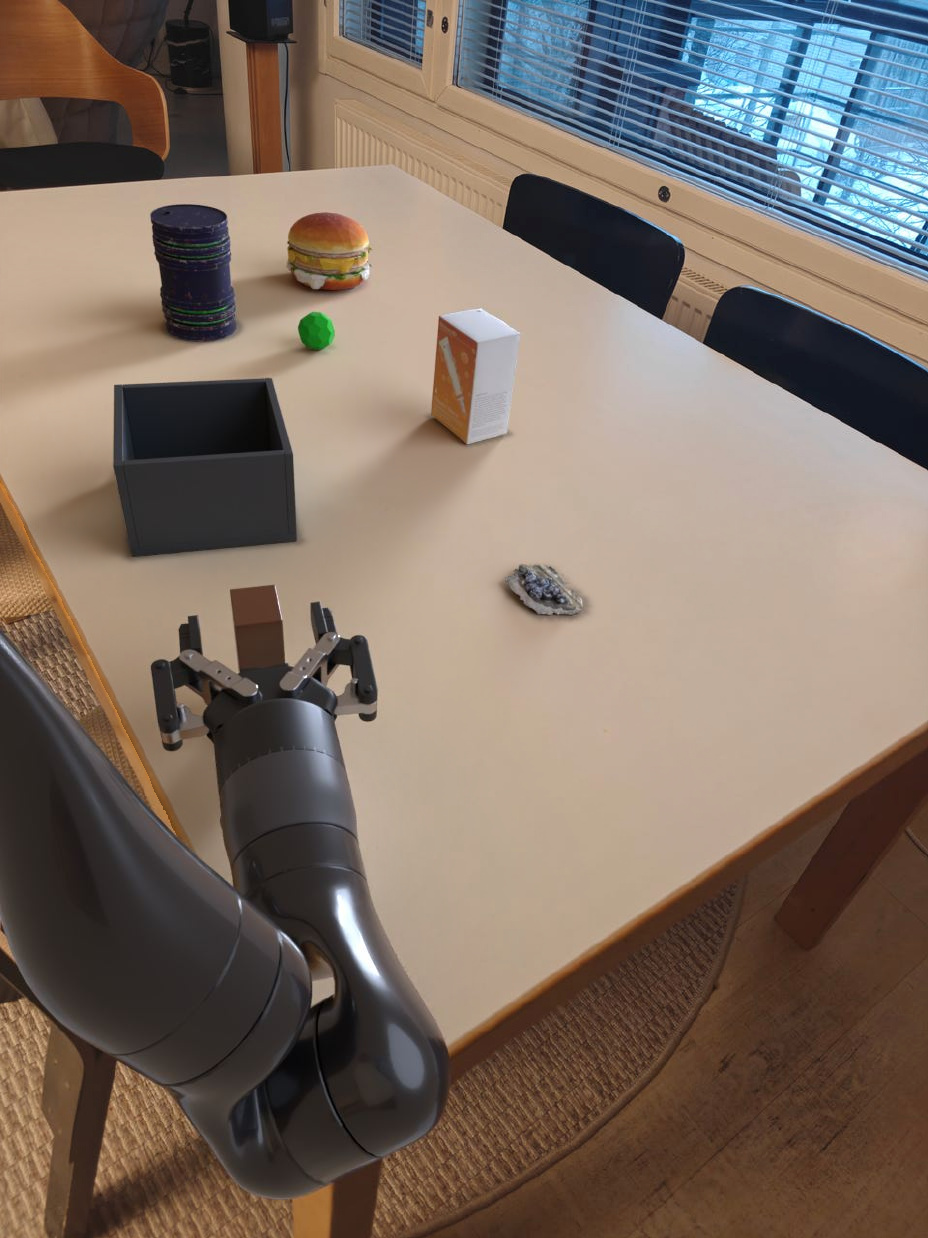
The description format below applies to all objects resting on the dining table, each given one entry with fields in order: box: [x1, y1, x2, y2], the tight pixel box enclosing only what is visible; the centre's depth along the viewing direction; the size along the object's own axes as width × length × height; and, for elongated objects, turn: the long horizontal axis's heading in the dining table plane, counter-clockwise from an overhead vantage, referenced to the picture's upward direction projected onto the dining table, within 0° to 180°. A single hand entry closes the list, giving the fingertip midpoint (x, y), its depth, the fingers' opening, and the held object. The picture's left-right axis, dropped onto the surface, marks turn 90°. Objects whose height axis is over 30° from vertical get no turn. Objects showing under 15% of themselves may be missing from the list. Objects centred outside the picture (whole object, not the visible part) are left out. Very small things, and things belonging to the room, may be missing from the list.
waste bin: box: [112, 377, 298, 558], centre depth 86 cm, size 16×16×10 cm
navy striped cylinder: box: [149, 203, 237, 343], centre depth 117 cm, size 10×10×15 cm
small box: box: [430, 307, 521, 445], centre depth 103 cm, size 8×6×13 cm
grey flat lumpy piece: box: [504, 563, 584, 616], centre depth 83 cm, size 7×8×2 cm
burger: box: [286, 211, 373, 291], centre depth 136 cm, size 13×14×10 cm
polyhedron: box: [297, 311, 336, 351], centre depth 118 cm, size 5×5×5 cm
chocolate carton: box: [229, 584, 286, 673], centre depth 64 cm, size 3×4×12 cm
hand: (255, 617), depth 62 cm, fingers open, 8 cm apart
